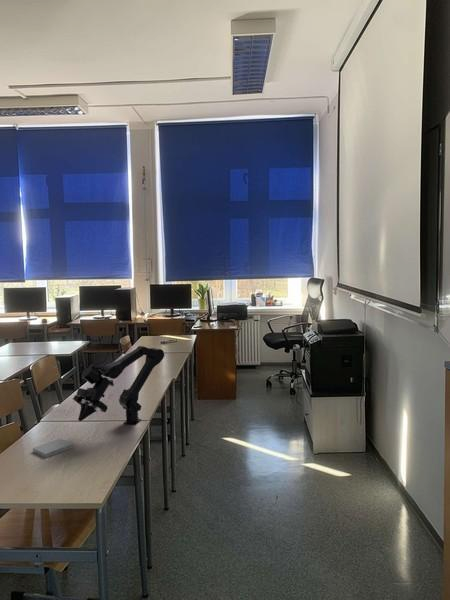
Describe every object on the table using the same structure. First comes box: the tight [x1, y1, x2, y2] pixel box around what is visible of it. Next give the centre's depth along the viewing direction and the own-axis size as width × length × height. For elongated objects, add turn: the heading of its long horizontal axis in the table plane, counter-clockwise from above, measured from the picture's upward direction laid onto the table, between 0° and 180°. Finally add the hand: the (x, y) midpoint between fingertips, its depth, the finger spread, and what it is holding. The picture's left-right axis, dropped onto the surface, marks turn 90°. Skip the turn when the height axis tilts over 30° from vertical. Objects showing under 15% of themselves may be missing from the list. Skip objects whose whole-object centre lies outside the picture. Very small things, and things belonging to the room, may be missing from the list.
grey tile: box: [32, 438, 74, 459], centre depth 186 cm, size 2×10×12 cm
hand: (79, 420), depth 196 cm, fingers closed
